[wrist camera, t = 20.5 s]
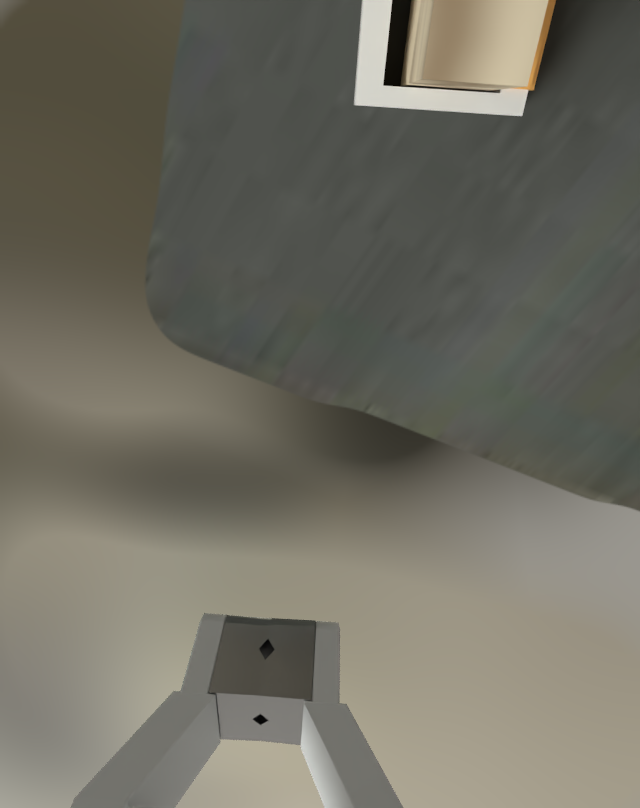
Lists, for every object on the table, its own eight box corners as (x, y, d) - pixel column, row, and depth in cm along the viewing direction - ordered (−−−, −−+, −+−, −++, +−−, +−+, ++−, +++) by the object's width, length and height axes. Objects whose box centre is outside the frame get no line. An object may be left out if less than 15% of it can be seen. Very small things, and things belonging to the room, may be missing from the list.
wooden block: (493, -6, 27) (562, -57, 18) (474, 92, 29) (527, 86, 21) (412, -11, 27) (443, -65, 18) (400, 86, 29) (422, 78, 21)
